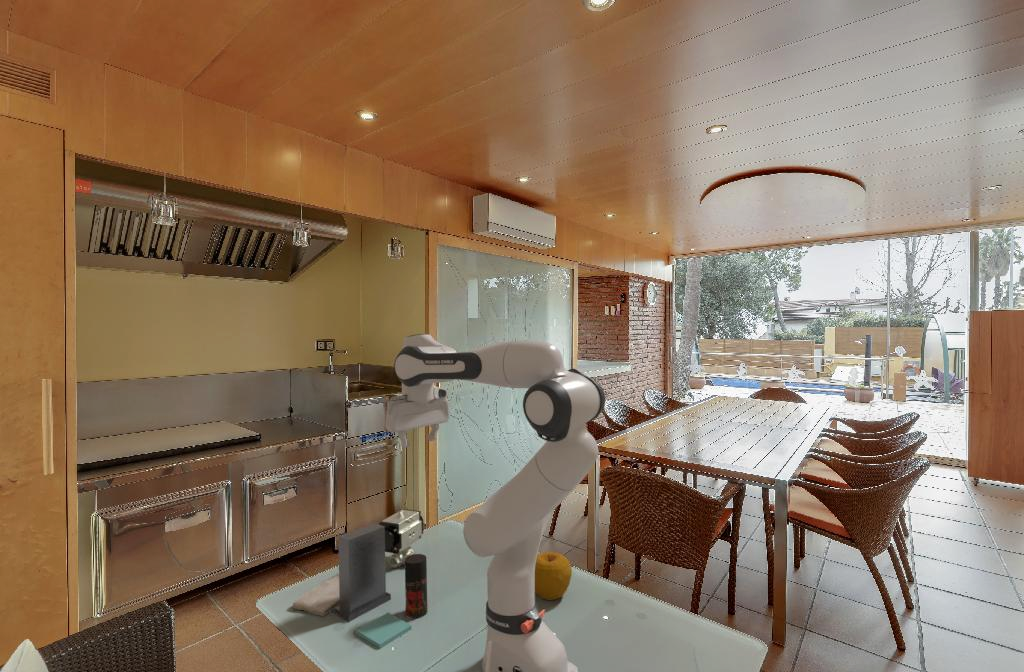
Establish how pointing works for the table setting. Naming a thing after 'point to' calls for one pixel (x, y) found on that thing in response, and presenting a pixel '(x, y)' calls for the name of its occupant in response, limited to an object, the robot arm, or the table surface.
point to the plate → (383, 630)
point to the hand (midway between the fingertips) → (419, 443)
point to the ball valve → (402, 534)
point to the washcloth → (320, 598)
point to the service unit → (361, 571)
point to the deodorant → (416, 585)
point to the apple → (552, 575)
